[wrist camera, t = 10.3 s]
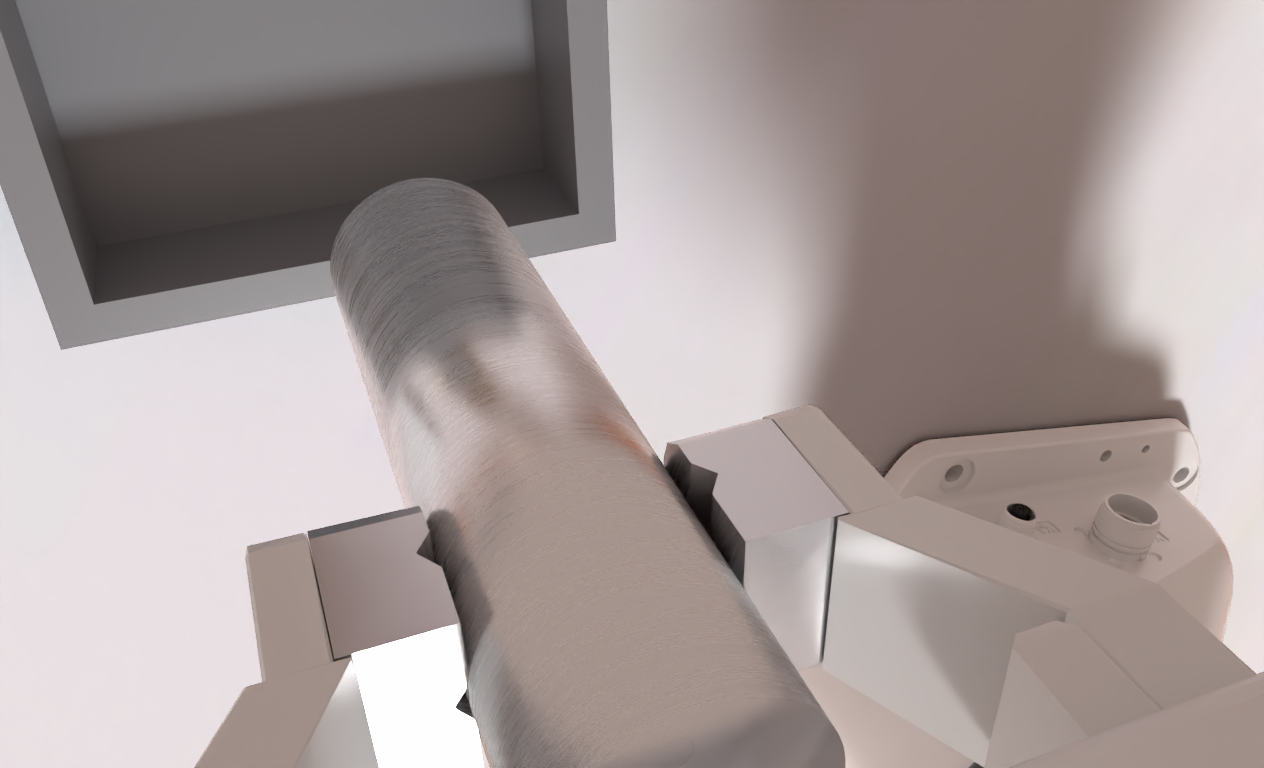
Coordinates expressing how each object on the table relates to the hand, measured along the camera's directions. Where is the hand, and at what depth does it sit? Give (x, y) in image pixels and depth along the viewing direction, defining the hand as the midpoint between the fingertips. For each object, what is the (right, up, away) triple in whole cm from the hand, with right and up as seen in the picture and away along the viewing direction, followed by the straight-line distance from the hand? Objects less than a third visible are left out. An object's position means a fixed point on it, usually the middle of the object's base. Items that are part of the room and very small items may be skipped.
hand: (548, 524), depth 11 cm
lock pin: (-2, +3, +4) cm, 6 cm away
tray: (-8, +12, +17) cm, 22 cm away
